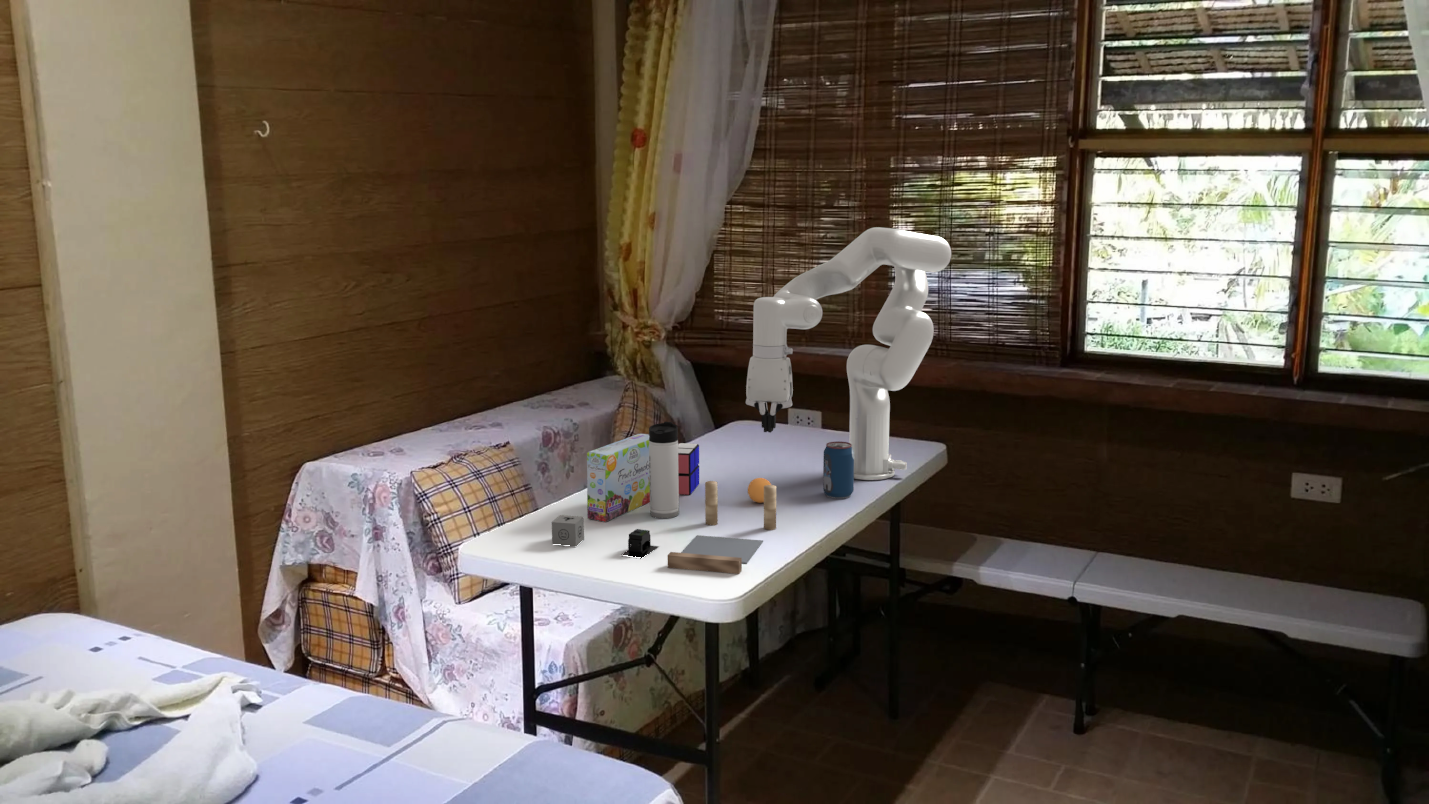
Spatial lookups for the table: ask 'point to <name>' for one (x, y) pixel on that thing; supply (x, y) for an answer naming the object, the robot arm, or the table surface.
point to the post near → (769, 507)
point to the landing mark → (723, 547)
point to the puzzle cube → (688, 468)
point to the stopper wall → (704, 562)
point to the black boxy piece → (639, 543)
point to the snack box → (618, 478)
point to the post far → (711, 503)
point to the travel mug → (663, 470)
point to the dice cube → (568, 530)
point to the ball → (757, 489)
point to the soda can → (838, 470)
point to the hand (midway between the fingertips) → (768, 430)
